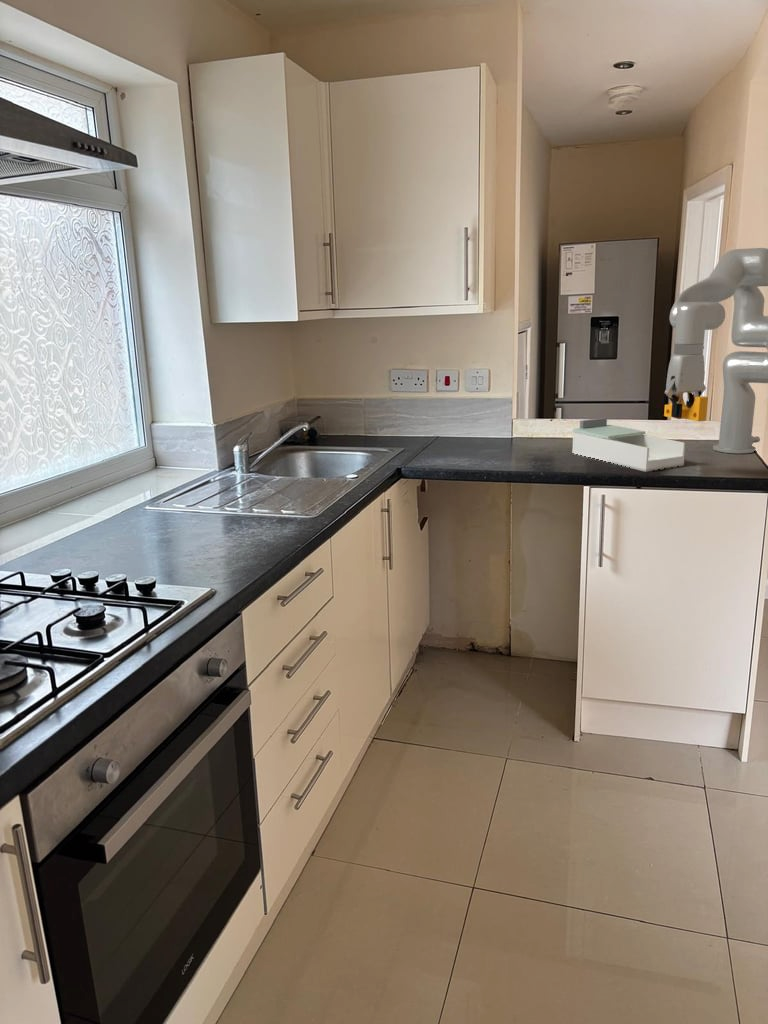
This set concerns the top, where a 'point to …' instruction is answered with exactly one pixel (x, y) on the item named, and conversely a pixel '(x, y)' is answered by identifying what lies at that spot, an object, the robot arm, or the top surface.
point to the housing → (632, 451)
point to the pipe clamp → (691, 409)
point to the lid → (605, 429)
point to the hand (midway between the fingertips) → (683, 415)
